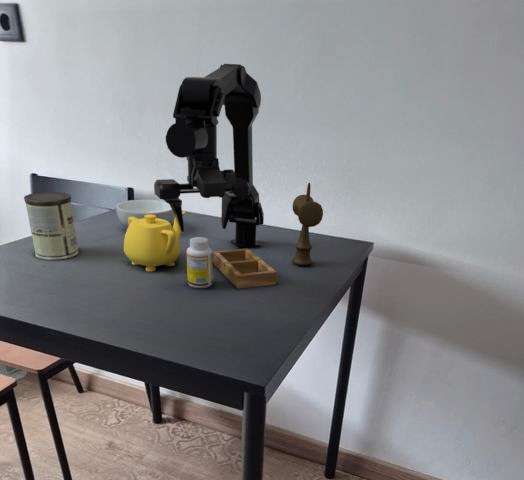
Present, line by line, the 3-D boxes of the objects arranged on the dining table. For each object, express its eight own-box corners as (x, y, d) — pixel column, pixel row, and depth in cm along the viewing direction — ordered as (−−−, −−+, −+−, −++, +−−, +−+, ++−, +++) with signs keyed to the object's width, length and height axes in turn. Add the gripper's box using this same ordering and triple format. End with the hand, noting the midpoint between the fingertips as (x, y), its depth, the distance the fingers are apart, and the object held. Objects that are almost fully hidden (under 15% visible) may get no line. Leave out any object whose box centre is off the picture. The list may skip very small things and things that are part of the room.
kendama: (294, 270, 119) (300, 186, 109) (287, 257, 127) (293, 178, 117) (317, 270, 120) (326, 187, 110) (309, 257, 128) (317, 179, 118)
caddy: (212, 263, 121) (212, 251, 119) (247, 259, 124) (247, 248, 123) (237, 288, 107) (238, 276, 105) (276, 284, 110) (276, 271, 109)
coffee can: (36, 248, 124) (25, 191, 117) (79, 246, 127) (71, 191, 120) (33, 261, 116) (21, 201, 109) (78, 259, 119) (70, 200, 112)
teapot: (182, 274, 113) (180, 224, 107) (120, 273, 112) (115, 222, 106) (187, 255, 125) (185, 208, 119) (130, 253, 124) (126, 206, 118)
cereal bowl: (170, 239, 136) (169, 214, 133) (111, 236, 136) (108, 210, 133) (180, 223, 151) (179, 200, 148) (126, 220, 151) (124, 197, 147)
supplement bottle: (200, 278, 112) (199, 234, 107) (217, 284, 109) (217, 240, 103) (182, 284, 108) (180, 239, 103) (199, 291, 105) (198, 245, 100)
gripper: (164, 158, 85) (168, 244, 93) (261, 157, 92) (258, 237, 100) (151, 149, 94) (156, 229, 102) (240, 148, 101) (239, 223, 108)
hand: (203, 229), depth 103 cm, fingers open, 9 cm apart
